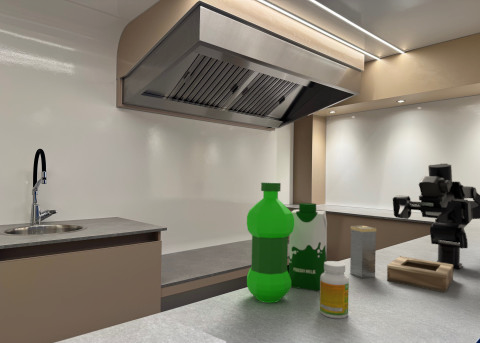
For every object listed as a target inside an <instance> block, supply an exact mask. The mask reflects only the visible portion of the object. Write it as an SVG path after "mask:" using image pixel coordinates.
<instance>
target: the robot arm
mask: <svg viewBox="0 0 480 343" xmlns="http://www.w3.org/2000/svg"><path fill="white" fill-rule="evenodd" d="M452 172H453V170H452V164H449V163H437V164H429V165H428V176H427V175H425V176H422V177H421V179H420V181H419V182H418V186H419V190H420V195H419V196H418V201H416V200H415V201H414V200H411V197H410V196H409V195H395V196H394V197H393V198H392V206H393V207H392V208H393V210H392V211H393V216H394V217H395V218H398V219H403V220H409V218H411V216H412V211H414V210H415V211H420V213H421V217H422V218H429V219H431V218H432V219H434V222H433V223H432V224H431V225H430V226H429V227H430V228H429V235H430V243H431V244H432V245H437V261H436V262H440V263H446V264H452V265H453V269H455V270H460V269H461V268H462V266H463V263H462V262H461V260H460V258H461V256H460V255H461V249H469V248H468V247H469V244H468V243H469V242H468V236H467V233H466V231H465V228H466V226H468V224H470V222H471V221H473V220H480V193H478V191H477V189H476V187H474V186H467V185H466V186H464V185H463V184H462V183H461V182H460V181H453V173H452ZM468 199H472V200H468Z"/></svg>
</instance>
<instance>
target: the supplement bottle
mask: <svg viewBox="0 0 480 343" xmlns="http://www.w3.org/2000/svg"><path fill="white" fill-rule="evenodd" d="M324 270H325V272H324V273H322V274H321V276H320V291H319V313H320V314H322V315H323V316H324V317H327V318H329V319H330V318H331V319H344V318H346V317H348V315H349V295H350V294H349V292H350V291H349V290H350V289H349V287H350V285H349V284H350V282H349V281H350V279H349V277H348V275H347V274H345V273H346V263H344V262H341V261H336V260H326V262H324Z"/></svg>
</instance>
